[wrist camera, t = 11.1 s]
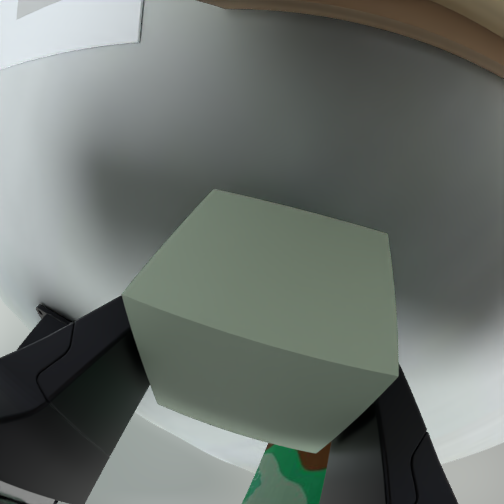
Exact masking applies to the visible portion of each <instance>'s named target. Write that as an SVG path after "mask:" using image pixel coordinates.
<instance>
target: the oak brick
mask: <svg viewBox="0 0 504 504" xmlns="http://www.w3.org/2000/svg"><path fill="white" fill-rule="evenodd" d="M431 1H433V2H435V3H438V4H440V5H442V6H444V7H446V8H449V9H451V10H453V11H455V12H457V13H459V14H461V15H463V16H465V17H467V18H469V19H471V20H472V21H474V22H476V23H478V24H480V25H481V26H483V27H485V28H487V29H488V30H490V31H492V32H493V33H495V34H497V35H498V36H500V37H501V38H503V39H504V0H431Z"/></svg>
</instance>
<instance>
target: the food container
mask: <svg viewBox="0 0 504 504" xmlns="http://www.w3.org/2000/svg"><path fill="white" fill-rule="evenodd" d="M330 447H331V442H329V443H328V444H327V445H326V446H325V447H323V448H322V449H321V450H320V451H318V452H317V453H311V452H306V451H301V450H296V449H292V448H288V447H284V446H279V445H275V444H272V443H268V445H267V448H266V450H265V453H264V455H263V457H262V460H261V462H260V464H259V467H258V469H257V471H256V474H255V476H254V478H253V481H252V483H251V485H250V488H249V489H248V492H247V494H246V496H245V498H244V500H243V503H242V504H319V502H320V498H321V493H322V489H323V484H324V479H325V474H326V469H327V464H328V459H329V453H330Z"/></svg>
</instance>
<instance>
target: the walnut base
mask: <svg viewBox="0 0 504 504" xmlns="http://www.w3.org/2000/svg"><path fill="white" fill-rule="evenodd" d="M197 1H201V2H204V3H208V4H211V5H214V6H218V7H221V8H224V9H255V10H272V11H284V12H293V13H302V14H310V15H316V16H323V17H329V18H334V19H340V20H345V21H350V22H354V23H359V24H363V25H367V26H371V27H375V28H379V29H383V30H386V31H390V32H393V33H396V34H400V35H403V36H406V37H409V38H412V39H415V40H418V41H421V42H424V43H426V44H429V45H432V46H434V47H437V48H440V49H442V50H445V51H447V52H449V53H452V54H454V55H456V56H459V57H461V58H463V59H465V60H468V61H470V62H472V63H474V64H476V65H478V66H480V67H482V68H484V69H486V70H488V71H490V72H492V73H494V74H496V75H497V76H499V77H501V78H503V79H504V39H503V38H501V37H500V36H498V35H497V34H495V33H493V32H492V31H490V30H488V29H487V28H485V27H483V26H481V25H480V24H478V23H476V22H474V21H472V20H471V19H469V18H467V17H465V16H463V15H461V14H459V13H457V12H455V11H453V10H451V9H449V8H446V7H444V6H442V5H440V4H438V3H435V2H433V1H431V0H197Z"/></svg>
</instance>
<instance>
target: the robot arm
mask: <svg viewBox="0 0 504 504" xmlns="http://www.w3.org/2000/svg"><path fill="white" fill-rule="evenodd" d="M36 310H37V312H38V314H39V316H40V317H41V319H42V320H41V321H40V322H39V323H38V324H37V325H36V327H35V328H34V329H33V330H32V332H31V333H30V334H29V335H28V336H27V338H26V339H25V340H24V341H23V343H22V344H21V345H20V346H19V348H18V349H17V351H15V352H12V353H10V354H8V355H6V356H3V357H1V358H0V504H57V502H58V501H61V502H65V503H69V504H85V502H86V500H87V498H88V496H89V495H90V493H91V491H92V489H93V487H94V485H95V483H96V481H97V480H98V478H99V476H100V474H101V472H102V470H103V468H104V467H105V465H106V463H107V461H108V459H109V456H110V455H111V453H112V452H113V450H114V448H115V446H116V444H117V442H118V441H119V439H120V437H121V435H122V433H123V432H124V430H125V428H126V426H127V424H128V423H129V421H130V419H131V417H132V416H133V414H134V412H135V410H136V408H137V407H138V405H139V403H140V401H141V400H142V398H143V396H144V394H145V392H146V391H147V389H148V387H149V385H150V383H149V380H148V377H147V374H146V372H145V369H144V366H143V363H142V360H141V357H140V354H139V351H138V348H137V345H136V342H135V339H134V336H133V333H132V330H131V326H130V323H129V320H128V316H127V313H126V309H125V306H124V302H123V298H122V295H121V296H119V297H117V298H116V299H114V300H112V301H110V302H108V303H107V304H105V305H103V306H101V307H99V308H98V309H96V310H94V311H92V312H90V313H89V314H87V315H85V316H83V317H81V318H80V319H78V320H76V321H75V323H74V322H72V323H71V322H70V321H68V320H66V319H64V318H63V317H61V316H59V315H57V314H56V313H54V312H52V311H51V310H49V309H47V308H46V307H44V306H42V305H41V304H39V305H38V306H37V307H36ZM398 363H399V362H398ZM426 431H427V428H426V426H425V423H424V421H423V418H422V416H421V413H420V411H419V408H418V406H417V403H416V401H415V399H414V396H413V394H412V392H411V389H410V387H409V385H408V382H407V380H406V378H405V375H404V373H403V371H402V369H401V366H400V364H399V376H398V377H397V378H396V380H395V381H394V382H393V383H392V384H391V385H390V386H389V387H388V388H387V389H386V390H385V391H384V392H383V393H382V394H381V395H380V396H379V397H378V398H377V399H376V400H375V401H374V402H373V403H372V404H371V405H370V406H369V407H368V408H367V409H366V410H365V411H364V412H363V413H362V414H361V415H360V416H359V417H358V418H357V419H356V420H355V421H353V422H352V423H351V424H350V425H349V426H348V427H347V428H346V429H345V430H343V431H342V432H341V433H340V434H339V435H338V436H337V437H335V438H334V439H333V440H332V441H331V447H330V453H329V459H328V464H327V469H326V474H325V479H324V484H323V489H322V493H321V498H320V502H319V504H458V502H457V500H456V497H455V495H454V493H453V491H452V489H451V487H450V484H449V482H448V480H447V478H446V475H445V473H444V471H443V468H442V466H441V464H440V462H439V459H438V457H437V454H436V452H435V449H434V447H433V444H432V441H431V439H430V436H429V433H428V432H426Z"/></svg>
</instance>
